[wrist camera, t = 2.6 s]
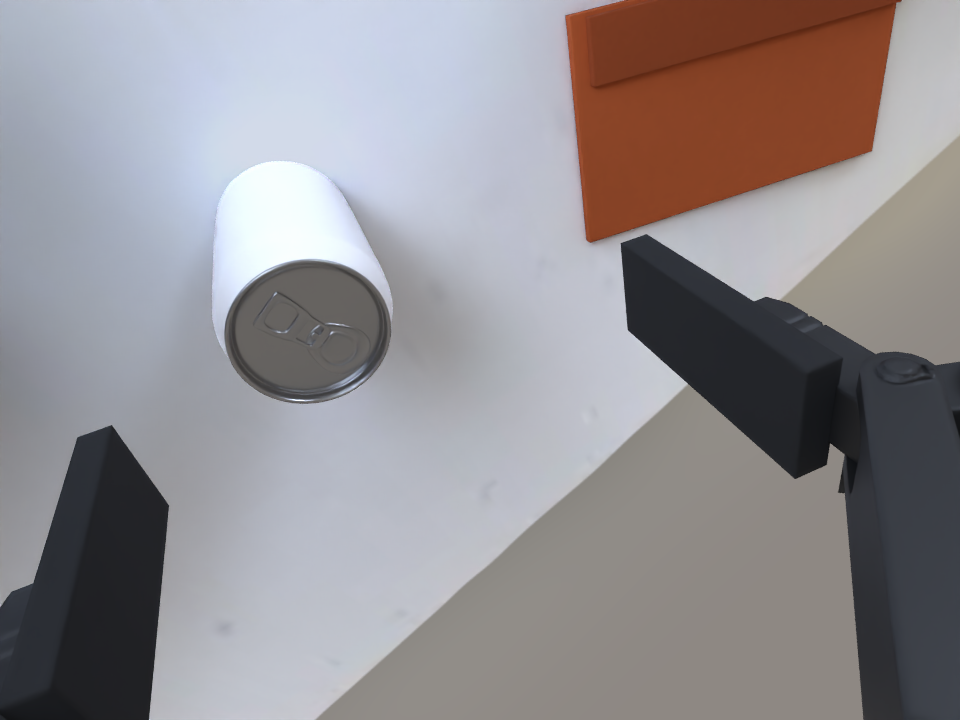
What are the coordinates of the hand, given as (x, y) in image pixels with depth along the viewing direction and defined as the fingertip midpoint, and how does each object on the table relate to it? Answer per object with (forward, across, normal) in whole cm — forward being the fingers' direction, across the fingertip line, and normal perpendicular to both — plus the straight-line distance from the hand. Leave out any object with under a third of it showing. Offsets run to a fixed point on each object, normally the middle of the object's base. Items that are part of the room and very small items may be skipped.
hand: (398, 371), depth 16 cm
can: (+19, -2, -2) cm, 19 cm away
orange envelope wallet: (+18, +24, -2) cm, 30 cm away
